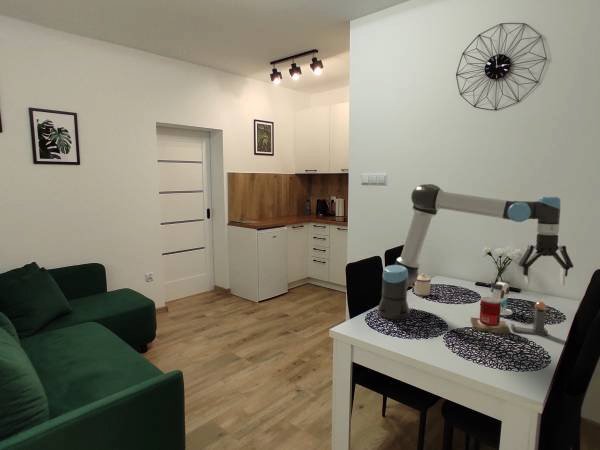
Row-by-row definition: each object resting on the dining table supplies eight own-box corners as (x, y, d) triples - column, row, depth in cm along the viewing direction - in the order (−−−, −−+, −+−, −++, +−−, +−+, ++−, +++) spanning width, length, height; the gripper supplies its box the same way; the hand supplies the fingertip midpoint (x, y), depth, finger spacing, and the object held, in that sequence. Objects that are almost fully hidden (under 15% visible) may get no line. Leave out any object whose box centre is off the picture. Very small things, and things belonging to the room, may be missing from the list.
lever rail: (512, 331, 161) (513, 327, 161) (510, 328, 164) (511, 324, 164) (547, 336, 156) (547, 331, 156) (544, 332, 160) (545, 328, 160)
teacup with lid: (432, 293, 215) (433, 273, 214) (426, 296, 209) (427, 276, 207) (413, 289, 223) (414, 270, 222) (406, 292, 217) (407, 273, 215)
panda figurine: (507, 317, 178) (509, 287, 176) (483, 311, 186) (485, 282, 185) (515, 311, 186) (518, 282, 184) (492, 305, 195) (494, 278, 193)
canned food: (501, 327, 161) (503, 302, 160) (482, 325, 163) (483, 301, 161) (496, 320, 168) (497, 297, 167) (477, 319, 170) (478, 296, 169)
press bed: (473, 329, 162) (473, 325, 162) (470, 320, 174) (471, 316, 173) (509, 334, 158) (509, 330, 157) (504, 324, 169) (504, 320, 169)
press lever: (534, 331, 158) (536, 302, 156) (531, 328, 162) (534, 299, 160) (545, 332, 157) (547, 303, 155) (542, 329, 160) (544, 301, 159)
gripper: (519, 234, 152) (516, 284, 154) (585, 235, 149) (582, 286, 151) (511, 232, 159) (509, 280, 162) (574, 232, 156) (571, 281, 158)
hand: (544, 283), depth 156 cm, fingers open, 13 cm apart
